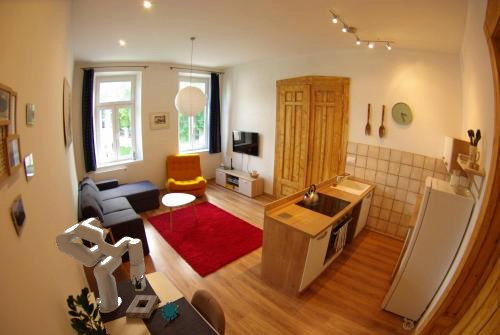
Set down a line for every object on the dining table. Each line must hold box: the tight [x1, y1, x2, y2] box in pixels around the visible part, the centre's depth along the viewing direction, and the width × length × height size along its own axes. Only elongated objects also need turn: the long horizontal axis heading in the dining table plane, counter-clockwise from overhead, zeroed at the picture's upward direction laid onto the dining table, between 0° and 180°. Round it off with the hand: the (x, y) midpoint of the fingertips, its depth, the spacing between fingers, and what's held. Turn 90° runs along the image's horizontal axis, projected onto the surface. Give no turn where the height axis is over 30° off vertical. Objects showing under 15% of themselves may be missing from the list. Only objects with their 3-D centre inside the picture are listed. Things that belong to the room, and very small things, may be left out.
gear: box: [161, 301, 180, 321], centre depth 153 cm, size 11×6×10 cm
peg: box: [134, 275, 147, 292], centre depth 153 cm, size 4×4×7 cm
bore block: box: [125, 294, 159, 319], centre depth 158 cm, size 14×14×4 cm
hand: (140, 285), depth 154 cm, fingers closed on peg, 4 cm apart
